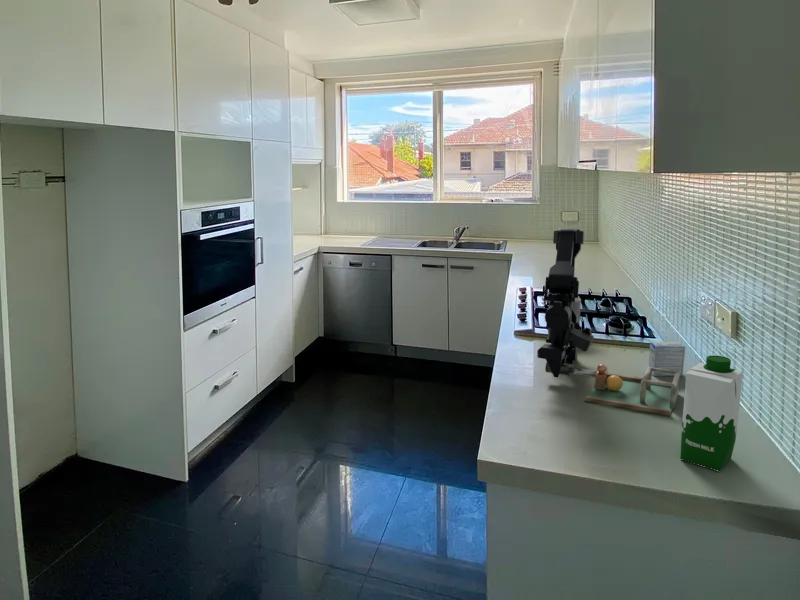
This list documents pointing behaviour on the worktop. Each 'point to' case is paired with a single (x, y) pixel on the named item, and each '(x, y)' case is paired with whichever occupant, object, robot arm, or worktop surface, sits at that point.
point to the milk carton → (710, 412)
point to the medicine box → (666, 357)
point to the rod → (585, 373)
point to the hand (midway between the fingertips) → (557, 375)
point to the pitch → (640, 393)
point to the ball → (614, 383)
